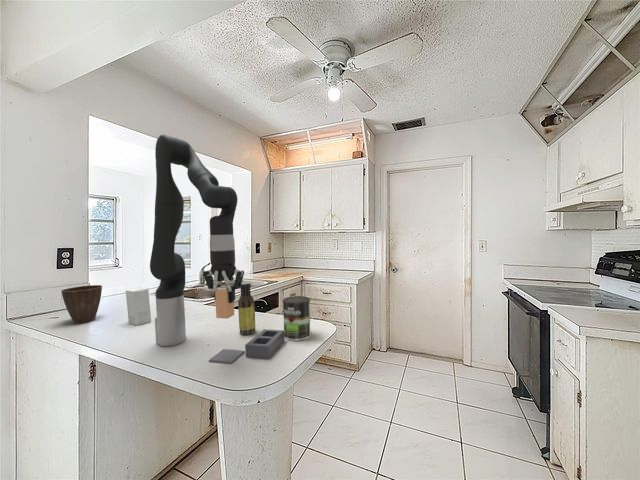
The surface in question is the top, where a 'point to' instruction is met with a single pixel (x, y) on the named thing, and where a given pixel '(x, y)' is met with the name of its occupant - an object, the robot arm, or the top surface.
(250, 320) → the sauce bottle
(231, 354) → the mat
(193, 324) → the top surface
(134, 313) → the skincare box
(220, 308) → the plug
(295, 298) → the coffee can
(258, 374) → the top surface
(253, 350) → the grey block holder
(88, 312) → the plant pot
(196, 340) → the top surface
